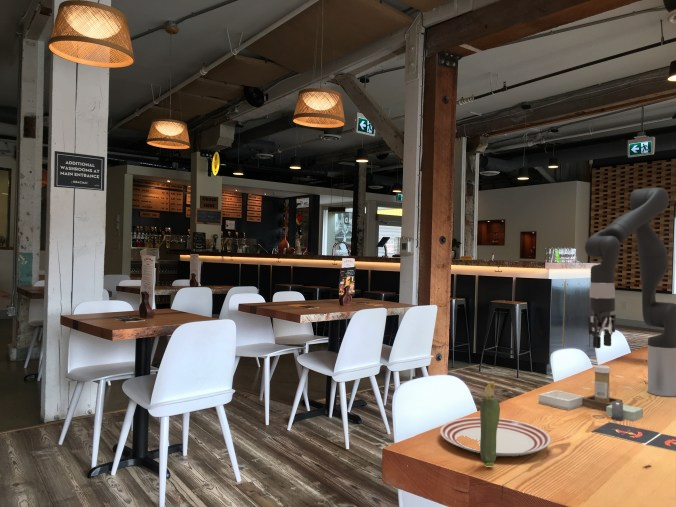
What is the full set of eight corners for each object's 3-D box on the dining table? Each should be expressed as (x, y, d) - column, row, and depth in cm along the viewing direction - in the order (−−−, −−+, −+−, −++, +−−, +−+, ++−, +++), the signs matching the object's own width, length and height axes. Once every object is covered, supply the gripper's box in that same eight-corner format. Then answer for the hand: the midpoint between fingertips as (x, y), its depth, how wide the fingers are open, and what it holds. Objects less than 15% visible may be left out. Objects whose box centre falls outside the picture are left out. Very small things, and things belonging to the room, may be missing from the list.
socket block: (595, 401, 181) (595, 394, 181) (622, 407, 173) (622, 400, 174) (581, 406, 175) (581, 398, 175) (609, 412, 168) (609, 404, 168)
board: (615, 412, 169) (615, 402, 170) (643, 418, 163) (643, 408, 163) (606, 416, 165) (606, 406, 165) (633, 422, 159) (633, 412, 159)
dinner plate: (492, 472, 119) (492, 458, 119) (419, 436, 144) (419, 424, 144) (574, 453, 132) (574, 440, 132) (495, 423, 156) (495, 411, 156)
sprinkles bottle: (612, 407, 174) (612, 366, 174) (604, 409, 171) (604, 367, 171) (599, 404, 177) (599, 364, 178) (591, 406, 175) (591, 365, 175)
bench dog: (614, 417, 163) (614, 400, 163) (624, 419, 160) (624, 402, 160) (610, 418, 161) (610, 402, 161) (620, 421, 159) (620, 404, 159)
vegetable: (477, 463, 124) (477, 377, 124) (495, 463, 125) (495, 377, 125) (484, 470, 120) (484, 382, 120) (502, 470, 120) (503, 382, 120)
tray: (555, 398, 184) (555, 390, 184) (584, 405, 176) (584, 396, 176) (538, 403, 178) (538, 394, 178) (568, 410, 170) (568, 401, 170)
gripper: (601, 295, 182) (601, 343, 182) (580, 296, 173) (579, 347, 173) (624, 296, 176) (623, 346, 176) (603, 298, 167) (603, 350, 167)
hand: (602, 346), depth 175 cm, fingers open, 6 cm apart
